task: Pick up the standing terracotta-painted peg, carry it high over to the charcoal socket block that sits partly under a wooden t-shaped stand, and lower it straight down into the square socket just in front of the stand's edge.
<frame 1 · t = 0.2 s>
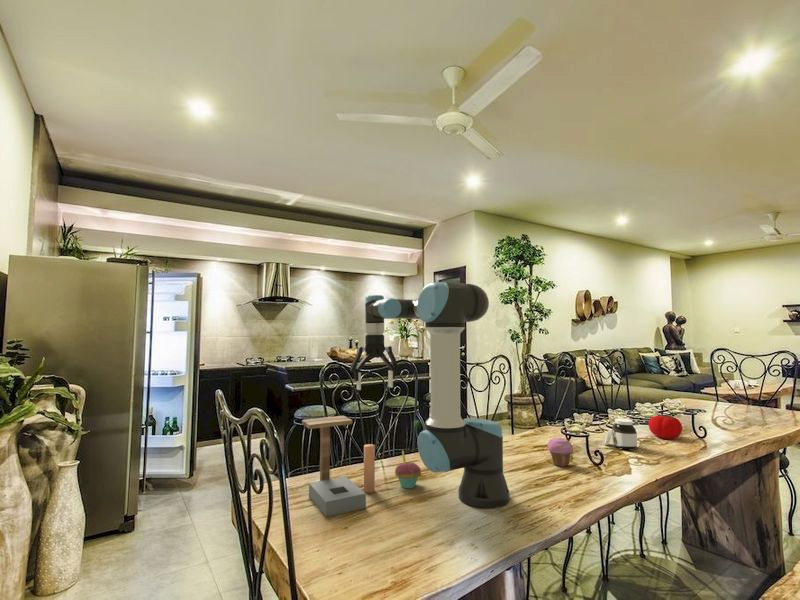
hand: (374, 388, 164), 28 cm above the table, fingers open, 13 cm apart
peg: (369, 490, 132), on the table
wooden t-shaped stand: (324, 489, 133), on the table
socket block: (336, 501, 124), on the table
cupcake 2: (560, 465, 156), on the table
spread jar: (619, 447, 179), on the table
tomato: (666, 438, 194), on the table
cupcake: (408, 486, 136), on the table
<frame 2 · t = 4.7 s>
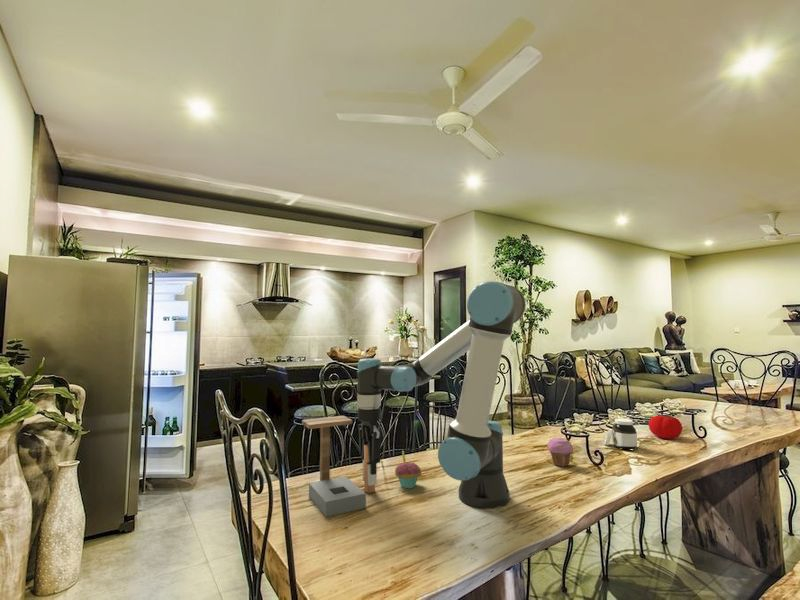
hand: (369, 482, 132), 3 cm above the table, fingers closed on peg, 3 cm apart
peg: (369, 490, 132), on the table, touching gripper
everything else where it was.
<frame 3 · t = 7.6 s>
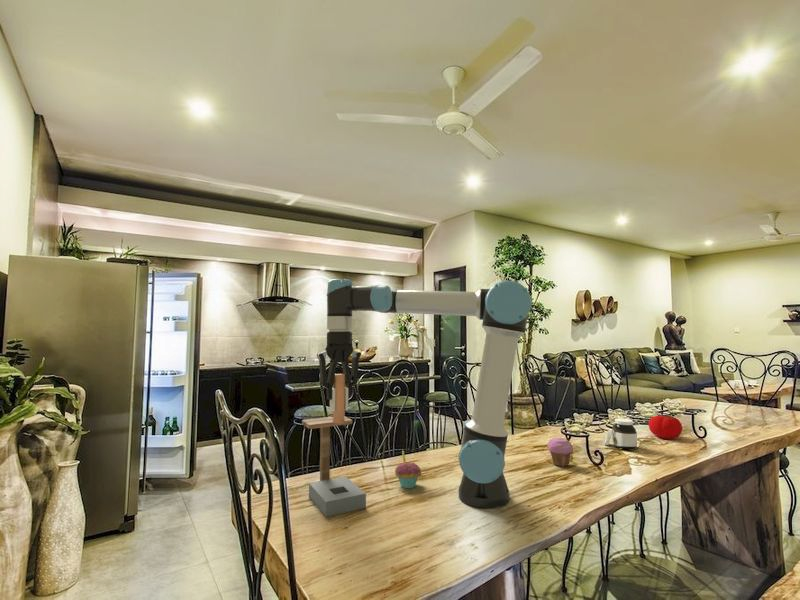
hand: (338, 409, 124), 27 cm above the table, fingers closed on peg, 3 cm apart
peg: (338, 422, 124), point 24 cm above the table, touching gripper
everything else where it was.
when the fingers open (4 cm above the table, at t = 11.2 s): peg stays where it is, resting in socket block.
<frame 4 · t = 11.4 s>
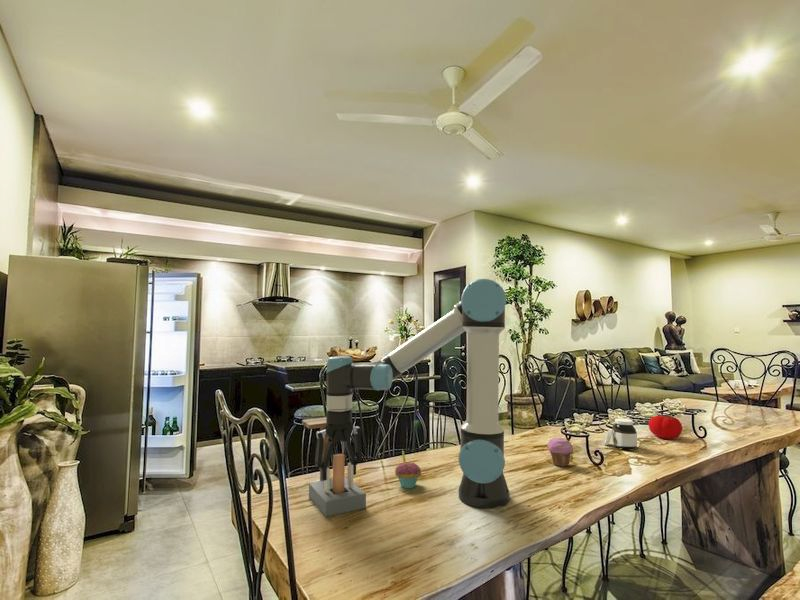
hand: (338, 488, 122), 5 cm above the table, fingers open, 7 cm apart
peg: (338, 504, 122), resting in socket block
everything else where it was.
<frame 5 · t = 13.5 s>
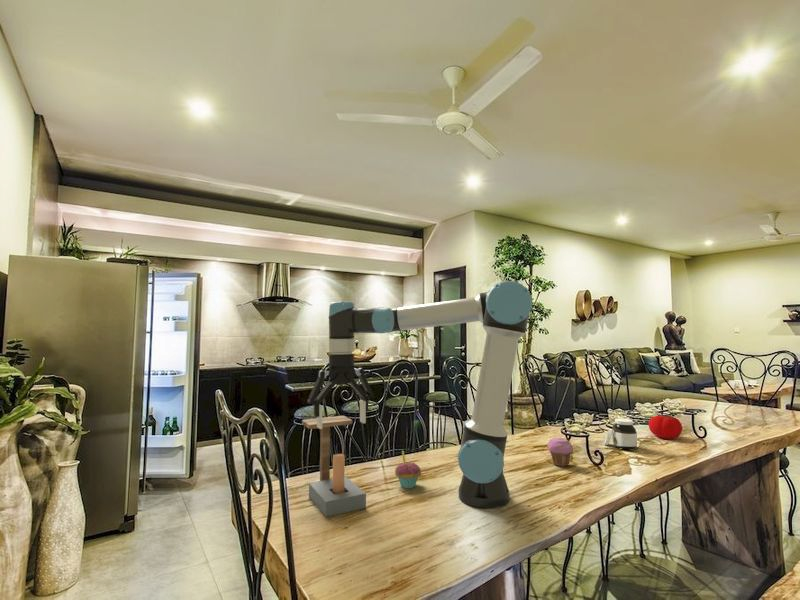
hand: (341, 425, 124), 23 cm above the table, fingers open, 13 cm apart
nothing on the table moved.
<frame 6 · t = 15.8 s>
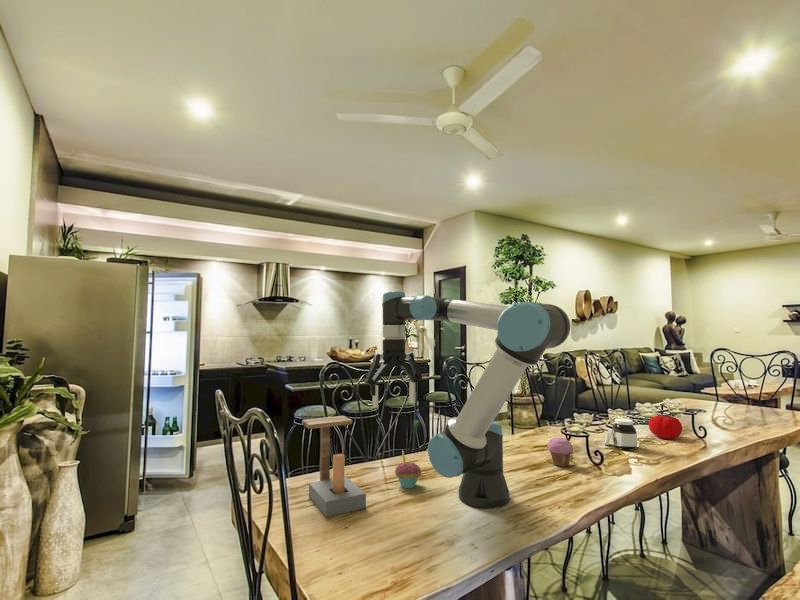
hand: (394, 404, 136), 27 cm above the table, fingers open, 13 cm apart
nothing on the table moved.
at the end: peg 0.1 cm from the target spot on the socket block, point 0.0 cm above the socket block's base; peg tilted 0°; the gripper is holding nothing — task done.
